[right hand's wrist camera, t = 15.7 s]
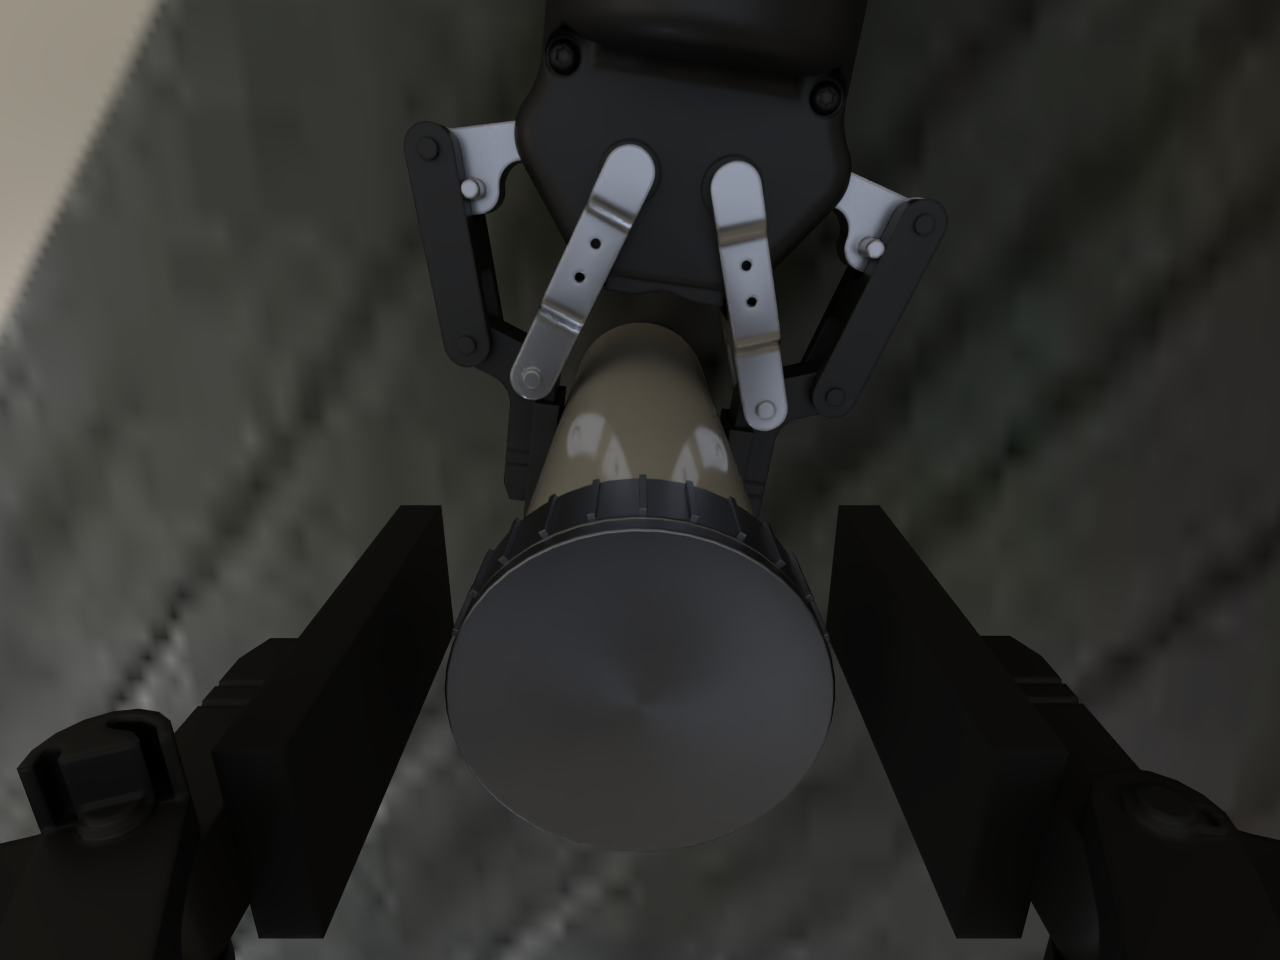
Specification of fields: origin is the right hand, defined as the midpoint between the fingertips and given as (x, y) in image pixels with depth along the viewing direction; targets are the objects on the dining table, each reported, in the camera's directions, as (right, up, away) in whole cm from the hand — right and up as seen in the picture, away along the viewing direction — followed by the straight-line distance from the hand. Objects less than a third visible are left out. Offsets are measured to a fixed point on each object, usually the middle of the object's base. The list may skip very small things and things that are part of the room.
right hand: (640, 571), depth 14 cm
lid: (0, -1, -3) cm, 4 cm away
